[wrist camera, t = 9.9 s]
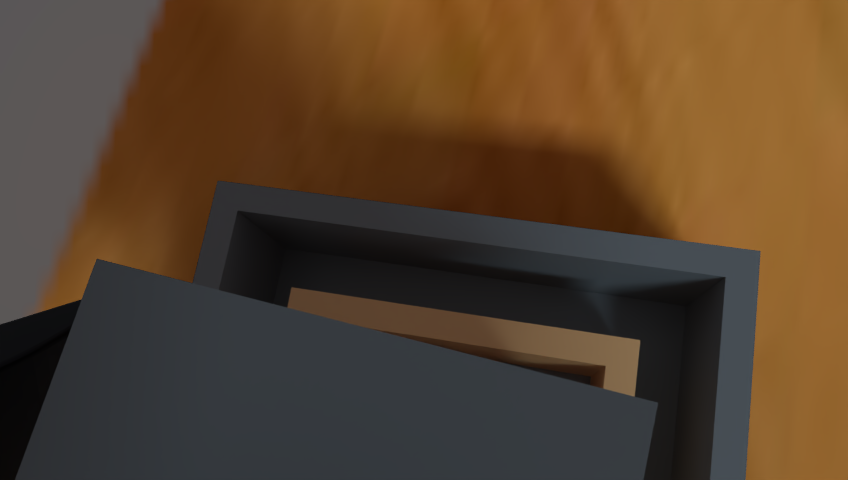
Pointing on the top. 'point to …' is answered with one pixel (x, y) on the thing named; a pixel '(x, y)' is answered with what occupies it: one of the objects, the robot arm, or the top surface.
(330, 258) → the walled box
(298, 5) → the top surface
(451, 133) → the top surface
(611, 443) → the plug
